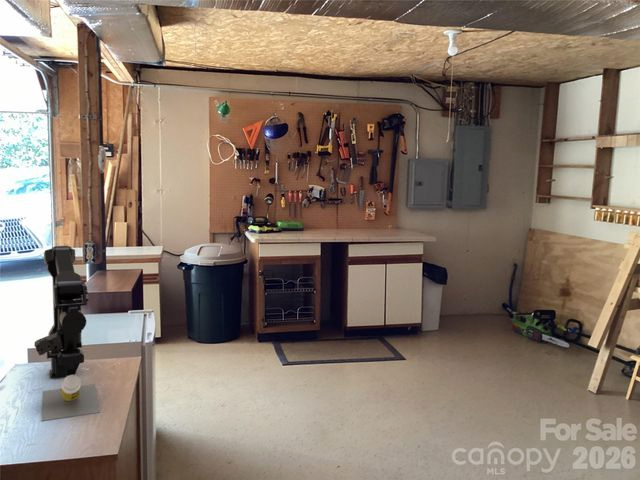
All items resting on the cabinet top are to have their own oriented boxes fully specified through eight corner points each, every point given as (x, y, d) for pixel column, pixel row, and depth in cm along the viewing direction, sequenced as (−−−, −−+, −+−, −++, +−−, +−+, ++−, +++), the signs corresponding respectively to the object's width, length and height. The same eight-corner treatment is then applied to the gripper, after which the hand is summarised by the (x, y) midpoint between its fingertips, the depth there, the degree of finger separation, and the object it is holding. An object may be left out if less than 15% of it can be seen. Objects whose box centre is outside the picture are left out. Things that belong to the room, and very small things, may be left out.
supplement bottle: (72, 406, 144) (73, 393, 138) (57, 397, 144) (57, 384, 138) (83, 391, 148) (85, 378, 142) (68, 383, 148) (69, 370, 142)
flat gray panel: (42, 391, 151) (42, 391, 151) (95, 385, 158) (95, 384, 158) (41, 421, 134) (41, 420, 134) (100, 412, 140) (100, 411, 140)
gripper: (37, 318, 148) (38, 372, 149) (35, 336, 131) (36, 396, 132) (80, 315, 153) (81, 367, 154) (83, 332, 136) (84, 390, 138)
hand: (70, 379), depth 144 cm, fingers closed
